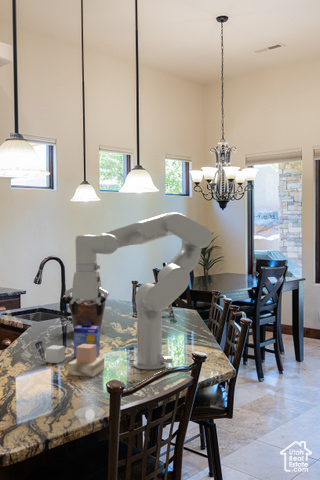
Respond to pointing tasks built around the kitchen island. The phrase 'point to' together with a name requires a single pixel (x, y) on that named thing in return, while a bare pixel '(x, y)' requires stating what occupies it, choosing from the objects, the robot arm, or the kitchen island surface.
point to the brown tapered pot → (87, 313)
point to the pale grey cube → (55, 354)
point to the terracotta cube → (86, 353)
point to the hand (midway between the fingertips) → (87, 314)
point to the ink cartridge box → (87, 336)
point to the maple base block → (86, 367)
